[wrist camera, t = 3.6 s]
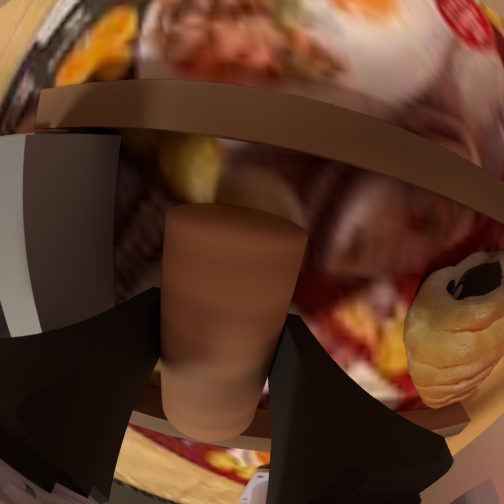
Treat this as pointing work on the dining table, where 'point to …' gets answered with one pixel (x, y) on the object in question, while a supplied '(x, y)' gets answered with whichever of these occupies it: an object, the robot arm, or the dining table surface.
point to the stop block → (56, 229)
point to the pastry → (456, 328)
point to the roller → (222, 312)
